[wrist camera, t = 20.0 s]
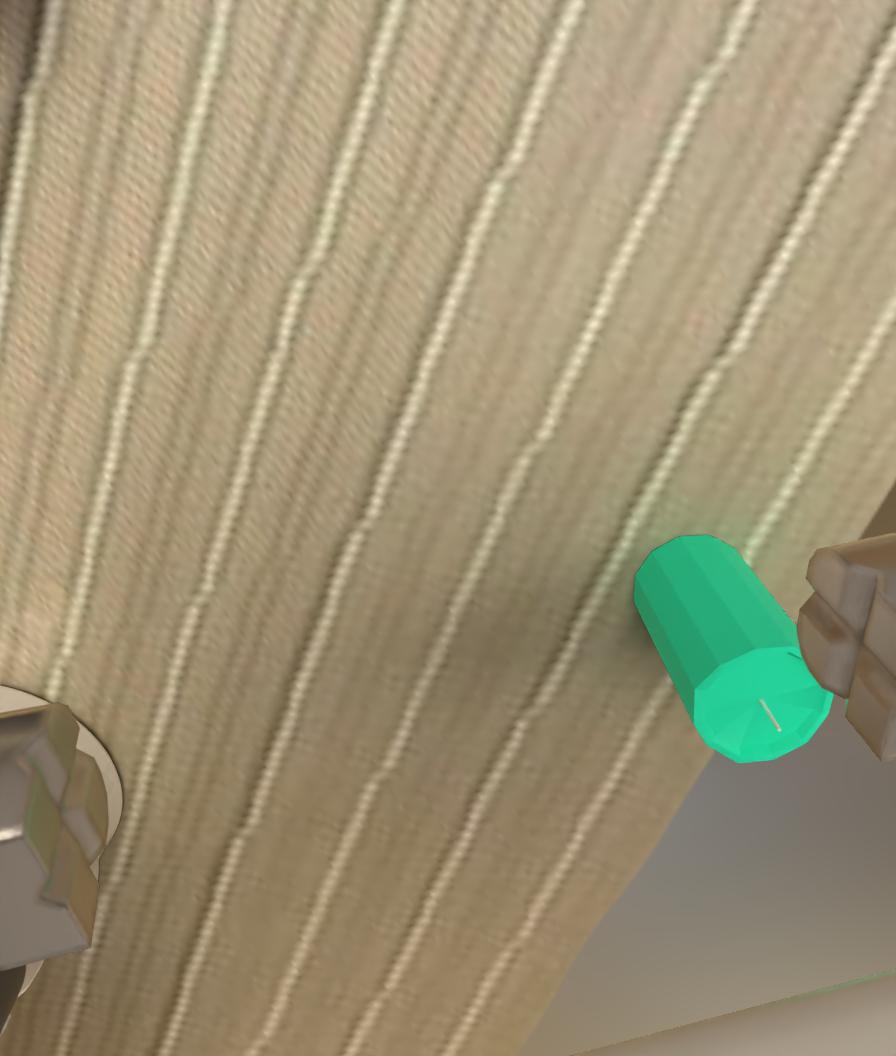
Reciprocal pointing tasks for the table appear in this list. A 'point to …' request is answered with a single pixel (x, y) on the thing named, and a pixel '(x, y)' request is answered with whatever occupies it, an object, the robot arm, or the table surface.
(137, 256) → the table surface
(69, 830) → the robot arm
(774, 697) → the candle
